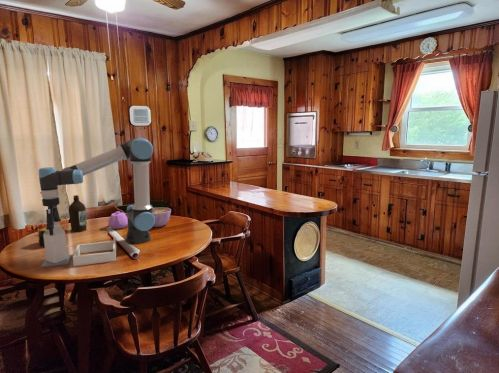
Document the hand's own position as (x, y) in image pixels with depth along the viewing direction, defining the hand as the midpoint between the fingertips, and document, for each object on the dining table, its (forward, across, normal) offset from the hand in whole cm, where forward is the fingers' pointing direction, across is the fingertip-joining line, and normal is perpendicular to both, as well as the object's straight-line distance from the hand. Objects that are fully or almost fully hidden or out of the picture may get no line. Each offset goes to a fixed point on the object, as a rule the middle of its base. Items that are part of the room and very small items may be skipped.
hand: (55, 237), depth 168 cm
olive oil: (+14, -59, +3) cm, 61 cm away
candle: (+14, -34, -8) cm, 38 cm away
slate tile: (+14, 0, 0) cm, 14 cm away
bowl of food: (+15, -51, +56) cm, 77 cm away
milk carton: (+13, 0, 0) cm, 13 cm away
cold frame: (+14, 0, +18) cm, 23 cm away
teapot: (+14, -56, +29) cm, 65 cm away
